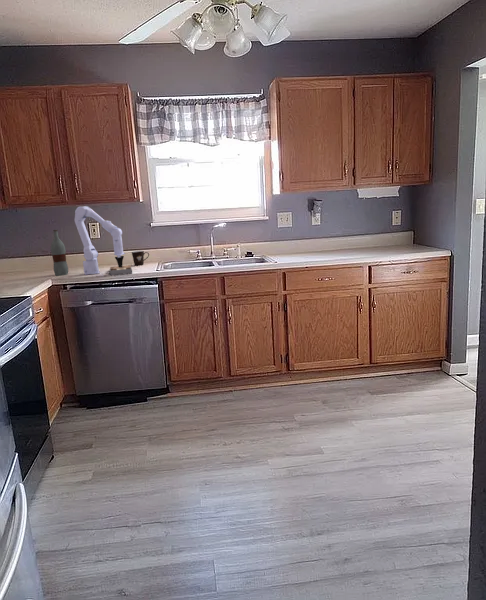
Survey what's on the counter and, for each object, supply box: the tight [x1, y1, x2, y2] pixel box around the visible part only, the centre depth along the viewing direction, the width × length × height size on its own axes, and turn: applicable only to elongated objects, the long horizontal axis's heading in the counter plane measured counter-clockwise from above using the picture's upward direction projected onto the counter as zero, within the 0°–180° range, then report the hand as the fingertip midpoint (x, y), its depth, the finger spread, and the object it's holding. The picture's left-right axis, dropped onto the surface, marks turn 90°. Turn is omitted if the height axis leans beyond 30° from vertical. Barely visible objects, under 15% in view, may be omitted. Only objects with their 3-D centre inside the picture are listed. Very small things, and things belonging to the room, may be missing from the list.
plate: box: [109, 264, 132, 271], centre depth 314 cm, size 14×12×2 cm
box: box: [109, 266, 133, 276], centre depth 303 cm, size 14×10×3 cm
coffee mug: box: [131, 250, 150, 267], centre depth 337 cm, size 12×9×10 cm
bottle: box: [50, 229, 69, 277], centre depth 309 cm, size 9×9×30 cm
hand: (120, 267), depth 307 cm, fingers closed
